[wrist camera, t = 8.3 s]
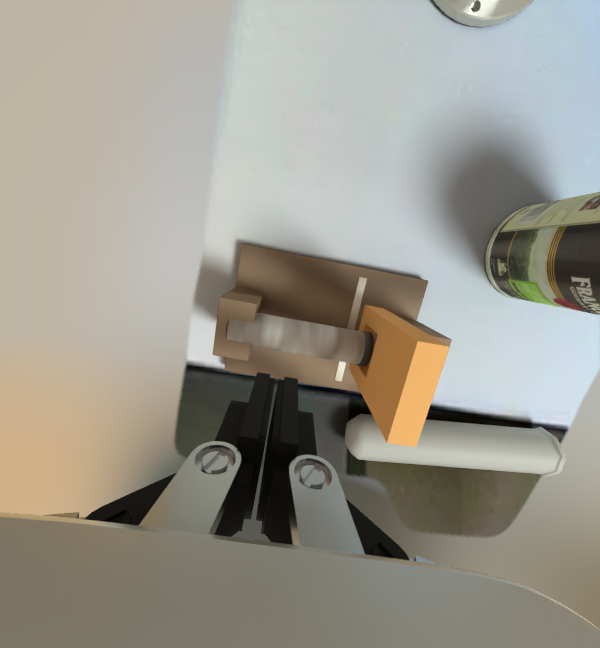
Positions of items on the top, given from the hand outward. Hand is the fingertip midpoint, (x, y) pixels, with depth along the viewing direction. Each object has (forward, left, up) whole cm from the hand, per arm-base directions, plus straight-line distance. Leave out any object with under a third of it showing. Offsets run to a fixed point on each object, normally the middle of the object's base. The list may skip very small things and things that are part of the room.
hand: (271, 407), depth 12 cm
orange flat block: (+1, +9, -17) cm, 19 cm away
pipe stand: (+1, +5, -21) cm, 21 cm away
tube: (+12, +22, -21) cm, 33 cm away
